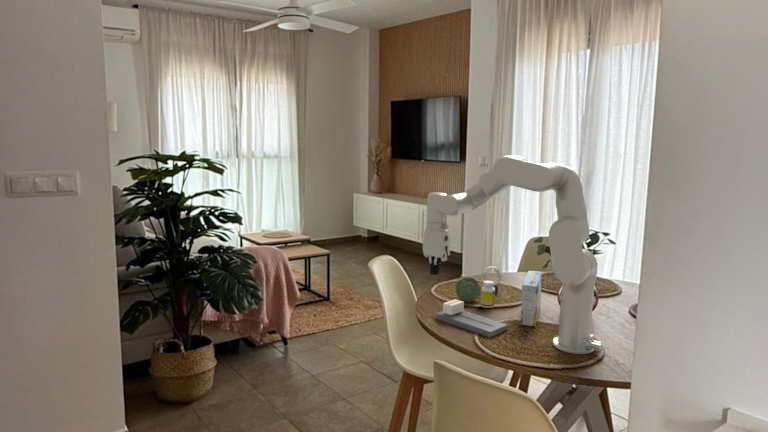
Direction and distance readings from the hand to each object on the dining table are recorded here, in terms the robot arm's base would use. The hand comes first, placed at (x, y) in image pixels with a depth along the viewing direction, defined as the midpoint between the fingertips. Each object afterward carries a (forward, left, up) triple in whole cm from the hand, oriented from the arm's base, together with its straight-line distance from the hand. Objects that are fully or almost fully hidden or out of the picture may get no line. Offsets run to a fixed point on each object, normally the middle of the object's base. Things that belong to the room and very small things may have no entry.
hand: (434, 273), depth 194 cm
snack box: (-27, -23, -15) cm, 39 cm away
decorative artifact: (-1, -19, -15) cm, 24 cm away
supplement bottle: (-9, -21, -15) cm, 28 cm away
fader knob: (-9, 0, -12) cm, 15 cm away
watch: (+1, -38, -15) cm, 41 cm away
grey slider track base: (-17, 0, -15) cm, 23 cm away
